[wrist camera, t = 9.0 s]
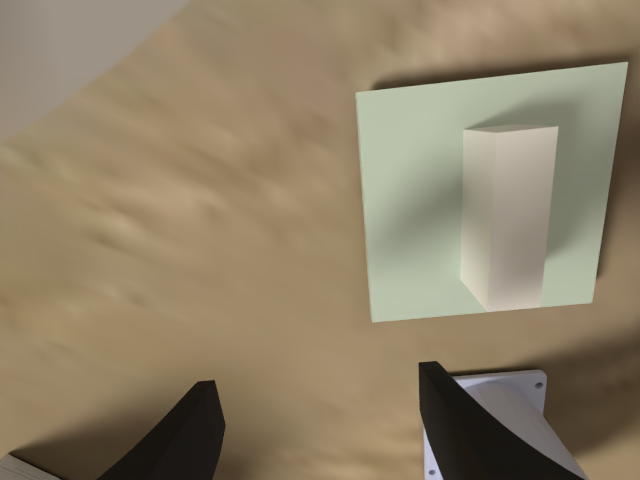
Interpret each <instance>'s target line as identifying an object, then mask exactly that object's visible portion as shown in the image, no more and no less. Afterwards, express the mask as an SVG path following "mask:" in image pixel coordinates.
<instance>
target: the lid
mask: <svg viewBox="0 0 640 480" xmlns="http://www.w3.org/2000/svg"><path fill="white" fill-rule="evenodd" d="M627 67H628V62H621V63H613V64H604V65H595V66H586V67H577V68H568V69H559V70H551V71H542V72H533V73H524V74H515V75H506V76H497V77H489V78H480V79H471V80H462V81H453V82H444V83H436V84H427V85H418V86H409V87H400V88H391V89H382V90H374V91H365V92H357V93H355V96H356V111H357V126H358V140H359V155H360V169H361V184H362V198H363V213H364V227H365V242H366V256H367V271H368V285H369V300H370V314H371V319H372V322H383V321H394V320H405V319H416V318H427V317H438V316H449V315H461V314H472V313H483V312H494V311H505V310H516V309H528V308H539V307H550V306H561V305H572V304H583V303H592V299H593V292H594V286H595V279H596V273H597V266H598V259H599V253H600V246H601V239H602V233H603V226H604V220H605V213H606V206H607V200H608V193H609V186H610V180H611V173H612V167H613V160H614V153H615V147H616V140H617V134H618V127H619V120H620V114H621V107H622V100H623V94H624V87H625V81H626V74H627Z"/></svg>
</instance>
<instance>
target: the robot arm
mask: <svg viewBox="0 0 640 480" xmlns="http://www.w3.org/2000/svg"><path fill="white" fill-rule="evenodd" d="M537 383H538V384H537ZM546 384H547V375H546V374H545V373H544V372H543V371H542V370H526V371H514V372H502V373H491V374H479V375H467V376H455V377H452V376H451V375H450V374H449V373H448V372H447V371H446V370H445V369H444V368H443V367H442V366H441V365H440V364H439V363H438V362H437V361H432V362H420V363H419V398H420V412H421V416H422V420H423V434H424V479H425V480H589V478H588V477H587V475H586V474H585V473H584V471H583V470H582V469H581V467H580V466H579V465H578V463H577V462H576V460H575V459H574V458H573V456H572V455H571V454H570V452H569V451H568V450H567V448H566V447H565V446H564V444H563V443H562V441H561V440H560V439H559V437H558V436H557V435H556V433H555V432H554V431H553V429H552V428H551V426H550V425H549V424H548V422H547V421H546V420H545V418H544V417H543V411H544V402H545V393H546ZM224 431H225V421H224V417H223V413H222V409H221V405H220V401H219V396H218V392H217V388H216V384H215V380H211V381H199V382H197V383H196V384H195V385H194V386H193V387H192V388H191V389H190V390H189V391H188V392H187V393H186V394H185V396H184V397H183V398H182V399H181V400H180V401H179V402H178V403H177V404H176V405H175V406H174V407H173V409H172V410H171V411H170V412H169V413H168V414H167V415H166V416H165V417H164V418H163V419H162V420H161V421H160V422H159V423H158V424H157V425H156V426H155V427H154V428H153V429H152V430H151V431H150V432H149V433H148V434H147V435H146V436H145V437H144V438H143V439H142V440H141V441H140V442H139V443H138V444H137V445H136V446H135V447H134V448H133V449H132V450H130V451H129V452H128V453H127V454H126V455H125V456H124V457H123V458H122V459H120V460H119V461H118V462H117V463H116V464H115V465H113V466H112V467H111V468H110V469H109V470H107V471H106V472H105V473H104V474H103V475H101V476H100V477H99V478H98V479H96V480H212V478H213V475H214V472H215V469H216V466H217V463H218V459H219V456H220V452H221V447H222V442H223V436H224Z"/></svg>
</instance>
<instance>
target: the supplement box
mask: <svg viewBox="0 0 640 480" xmlns="http://www.w3.org/2000/svg"><path fill="white" fill-rule="evenodd" d="M0 480H61V479H59V478H57V477H55V476H53V475H51V474H49V473H47V472H44V471H42V470H40V469H38V468H36V467H34V466H31V465H29V464H27V463H25V462H23V461H21V460H19V459H17V458H15V457H13V456H11V455H9V454H6V455H5V456H4V457H3V458H2V459H1V460H0Z"/></svg>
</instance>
